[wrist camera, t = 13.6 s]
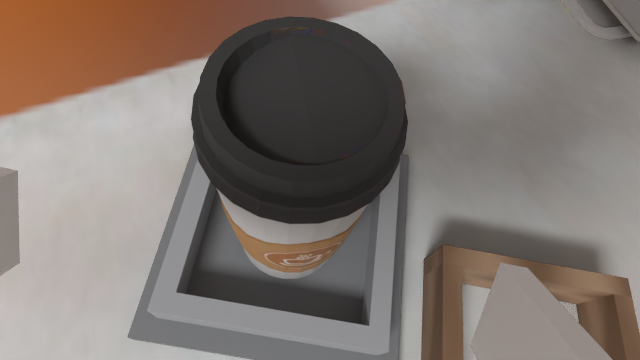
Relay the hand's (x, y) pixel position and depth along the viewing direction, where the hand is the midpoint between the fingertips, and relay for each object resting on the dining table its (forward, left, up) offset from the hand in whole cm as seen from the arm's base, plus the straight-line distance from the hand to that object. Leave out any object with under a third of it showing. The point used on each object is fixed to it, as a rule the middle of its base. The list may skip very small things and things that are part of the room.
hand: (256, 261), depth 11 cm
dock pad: (-1, -6, -16) cm, 18 cm away
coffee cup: (-1, -6, -15) cm, 17 cm away
